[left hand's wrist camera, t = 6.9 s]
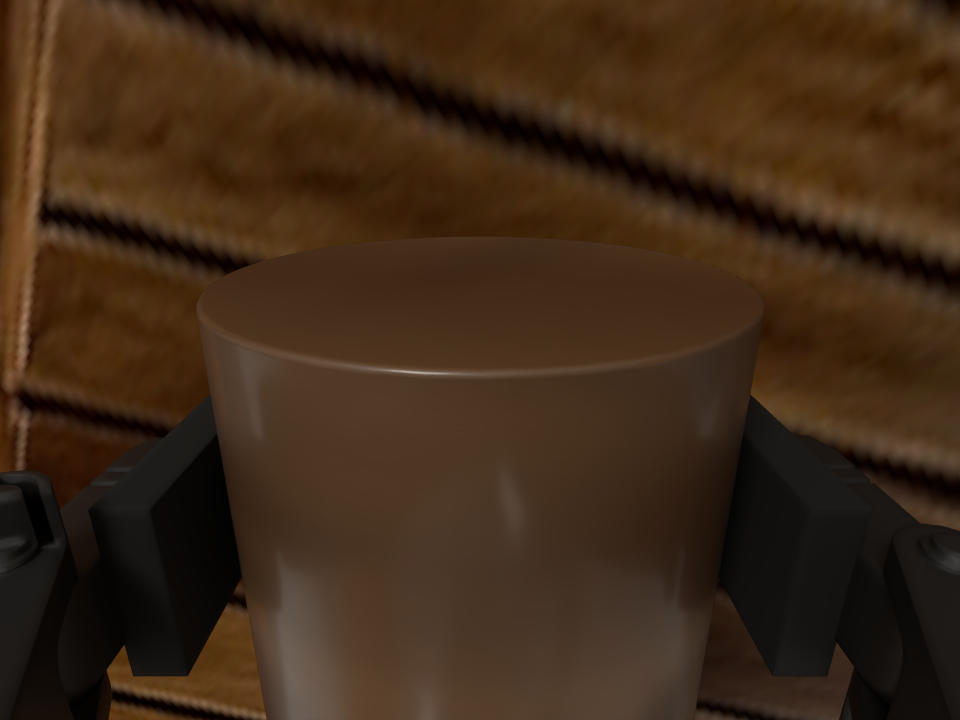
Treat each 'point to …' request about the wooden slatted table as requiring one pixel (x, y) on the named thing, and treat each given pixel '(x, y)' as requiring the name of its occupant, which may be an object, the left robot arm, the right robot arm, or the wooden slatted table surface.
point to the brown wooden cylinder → (480, 473)
